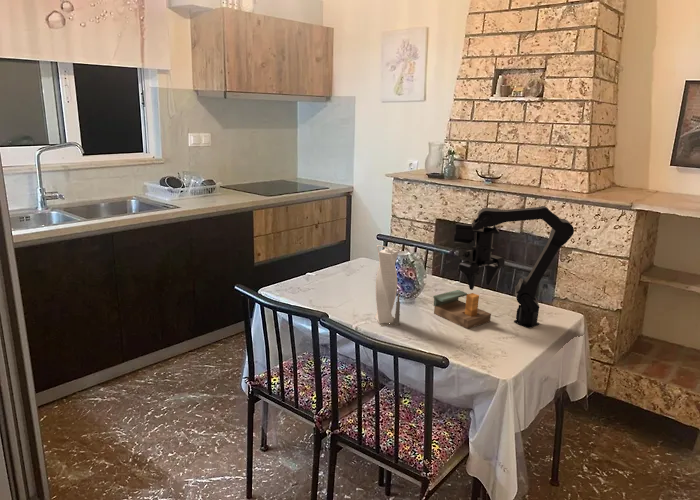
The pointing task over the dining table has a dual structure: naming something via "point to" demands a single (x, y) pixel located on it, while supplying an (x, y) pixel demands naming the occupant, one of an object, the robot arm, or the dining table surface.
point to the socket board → (458, 310)
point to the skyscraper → (387, 287)
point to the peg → (471, 304)
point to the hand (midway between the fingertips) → (479, 287)
